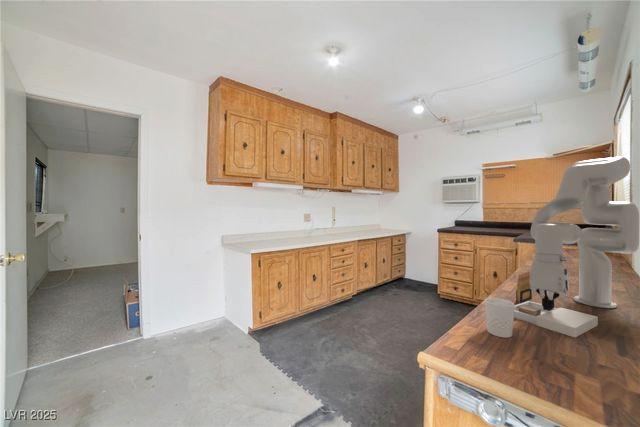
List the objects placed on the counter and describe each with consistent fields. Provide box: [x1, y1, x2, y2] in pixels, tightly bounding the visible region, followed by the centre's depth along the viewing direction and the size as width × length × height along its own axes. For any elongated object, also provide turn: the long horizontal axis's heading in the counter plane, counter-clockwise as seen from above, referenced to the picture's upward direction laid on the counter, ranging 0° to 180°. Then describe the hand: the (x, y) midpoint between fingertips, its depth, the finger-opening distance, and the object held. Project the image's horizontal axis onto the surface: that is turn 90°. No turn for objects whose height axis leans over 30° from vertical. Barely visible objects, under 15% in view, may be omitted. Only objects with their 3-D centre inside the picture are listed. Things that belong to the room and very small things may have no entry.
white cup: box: [484, 297, 516, 338], centre depth 86 cm, size 8×8×10 cm
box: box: [514, 300, 559, 326], centre depth 100 cm, size 17×10×2 cm, turn 119°
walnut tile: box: [519, 305, 541, 316], centre depth 101 cm, size 5×5×2 cm
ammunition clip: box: [515, 271, 533, 304], centre depth 117 cm, size 11×2×12 cm, turn 122°
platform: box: [536, 307, 599, 338], centre depth 91 cm, size 18×10×3 cm, turn 119°
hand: (547, 309), depth 96 cm, fingers closed
